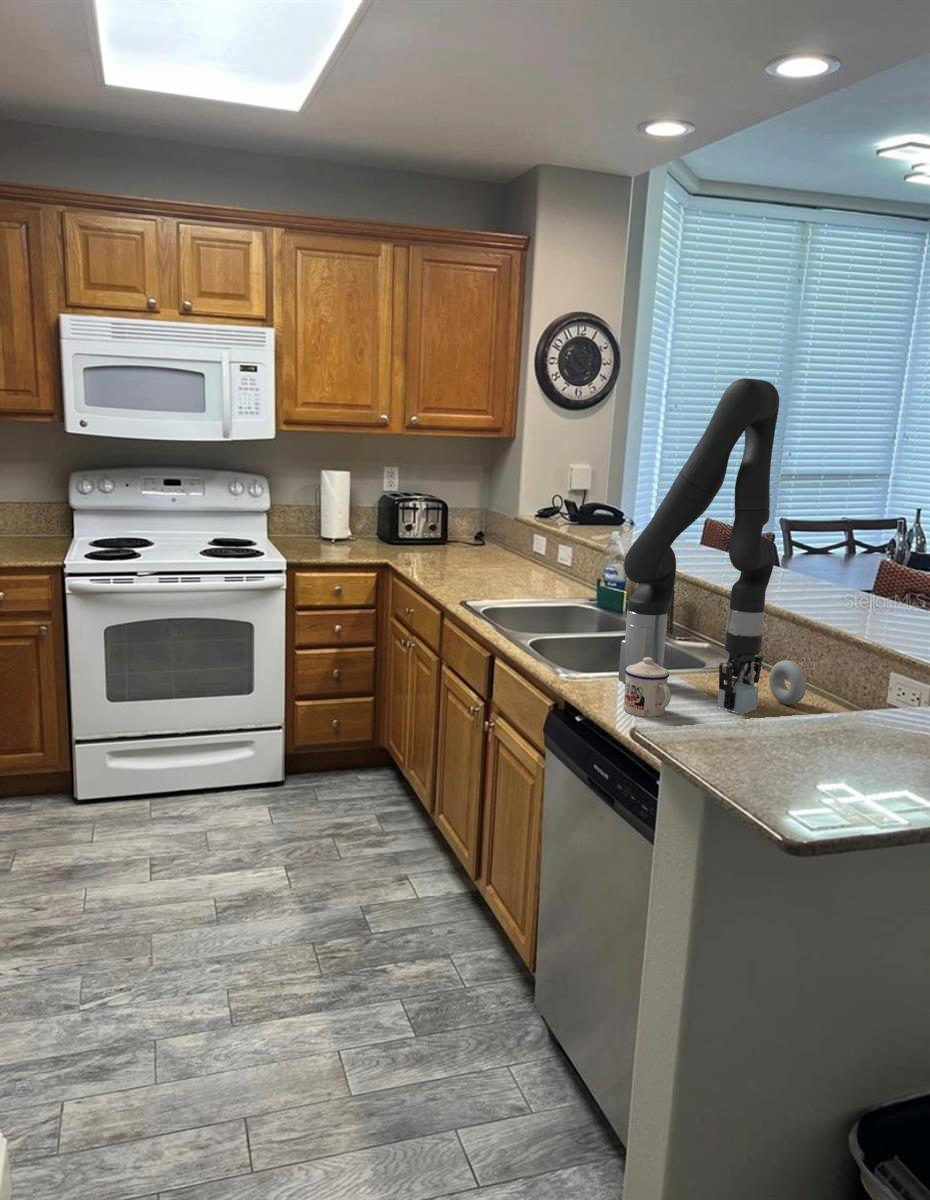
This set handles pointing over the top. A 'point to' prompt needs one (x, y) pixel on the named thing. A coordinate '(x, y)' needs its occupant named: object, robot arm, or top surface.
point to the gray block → (741, 698)
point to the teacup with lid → (646, 689)
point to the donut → (796, 682)
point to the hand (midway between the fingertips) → (737, 705)
